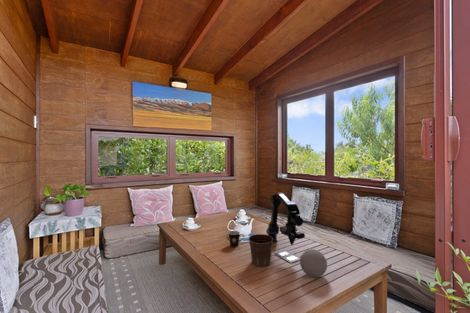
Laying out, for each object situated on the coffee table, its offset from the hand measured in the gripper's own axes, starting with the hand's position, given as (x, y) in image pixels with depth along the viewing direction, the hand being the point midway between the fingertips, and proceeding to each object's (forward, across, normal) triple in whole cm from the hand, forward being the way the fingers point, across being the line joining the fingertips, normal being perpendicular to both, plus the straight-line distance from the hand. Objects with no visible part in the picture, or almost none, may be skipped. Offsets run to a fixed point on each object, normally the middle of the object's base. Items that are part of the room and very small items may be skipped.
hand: (291, 244), depth 156 cm
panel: (+10, -4, 0) cm, 11 cm away
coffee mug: (+10, -40, -21) cm, 46 cm away
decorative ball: (+10, +22, -4) cm, 25 cm away
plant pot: (+10, -7, -21) cm, 24 cm away
